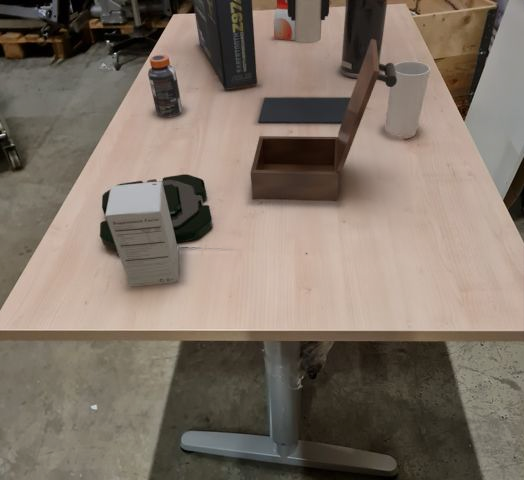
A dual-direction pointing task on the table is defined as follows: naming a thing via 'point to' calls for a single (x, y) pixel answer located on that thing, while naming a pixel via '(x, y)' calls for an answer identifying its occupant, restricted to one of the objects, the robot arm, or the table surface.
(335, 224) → the table surface
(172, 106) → the pill bottle
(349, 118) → the bin lid
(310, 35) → the canister
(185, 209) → the clover-shaped pad
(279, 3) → the ink box
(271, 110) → the mat
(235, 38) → the box
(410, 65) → the white cylindrical cup
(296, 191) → the bread bin
